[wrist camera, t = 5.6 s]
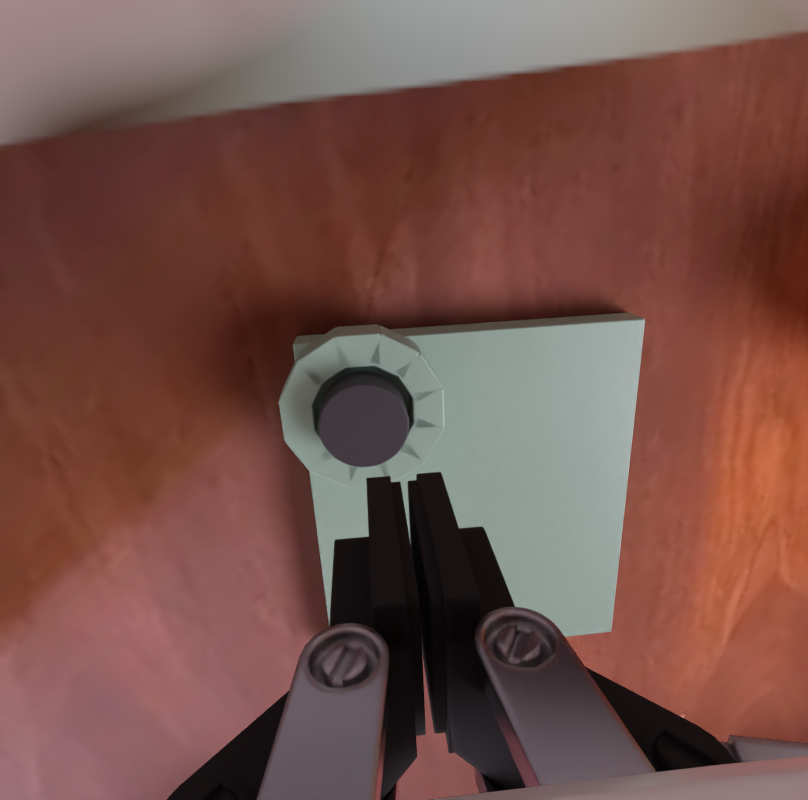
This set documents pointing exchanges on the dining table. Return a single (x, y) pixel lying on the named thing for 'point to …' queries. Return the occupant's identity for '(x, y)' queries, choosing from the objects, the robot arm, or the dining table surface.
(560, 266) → the dining table surface
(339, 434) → the tare button
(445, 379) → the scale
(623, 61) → the dining table surface
